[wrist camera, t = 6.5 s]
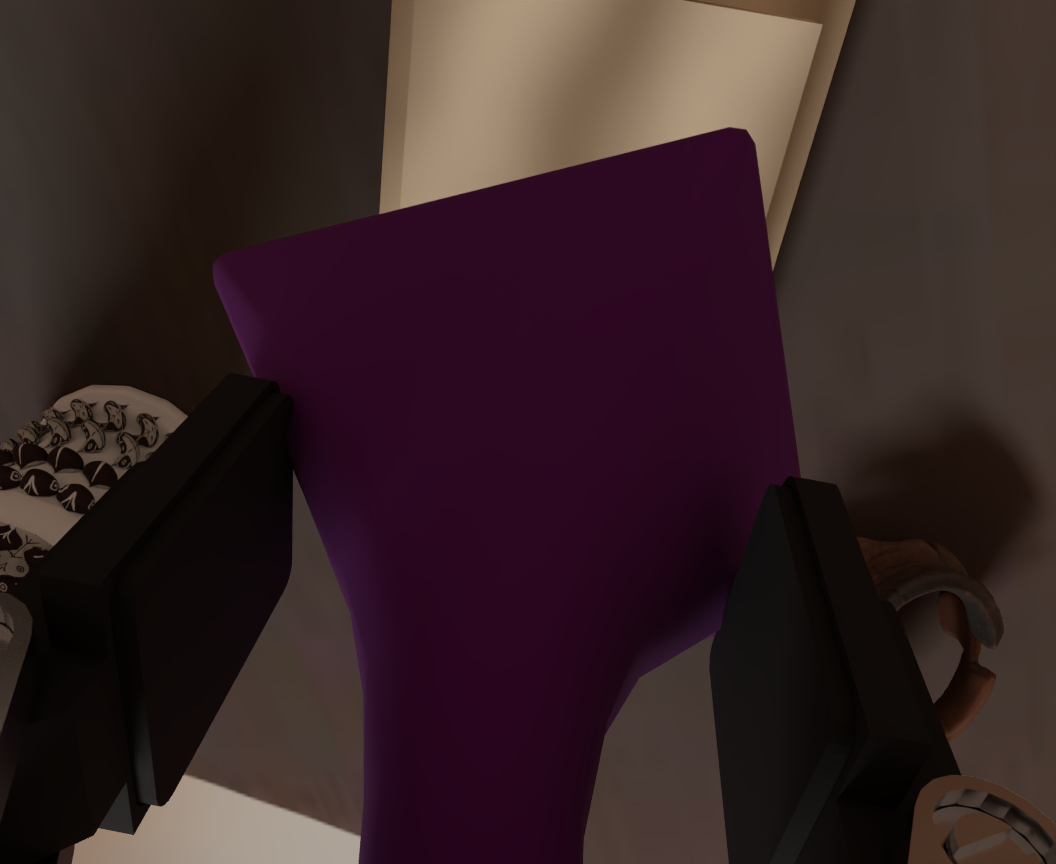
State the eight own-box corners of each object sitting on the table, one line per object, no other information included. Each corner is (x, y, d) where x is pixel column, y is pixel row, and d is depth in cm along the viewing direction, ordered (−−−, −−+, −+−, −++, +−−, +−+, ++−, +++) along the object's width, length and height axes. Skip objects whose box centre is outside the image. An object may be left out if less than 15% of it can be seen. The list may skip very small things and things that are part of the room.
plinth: (844, -16, 25) (873, -11, 22) (728, 373, 32) (738, 418, 29) (413, -91, 25) (383, -96, 22) (386, 311, 32) (360, 349, 29)
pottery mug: (692, 512, 36) (819, 583, 28) (877, 471, 38) (1038, 526, 31) (705, 763, 39) (823, 889, 31) (876, 707, 41) (1023, 811, 34)
